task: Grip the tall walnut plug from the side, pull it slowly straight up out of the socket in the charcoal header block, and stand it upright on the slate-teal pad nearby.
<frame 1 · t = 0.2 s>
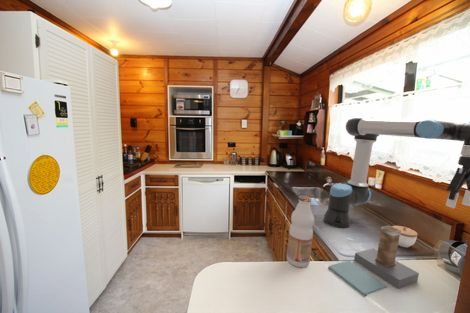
hand: (458, 206, 96), 27 cm above the countertop, tool pointing down, fingers open, 13 cm apart
header block: (383, 271, 92), on the countertop
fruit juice: (297, 261, 96), on the countertop
lidded jar: (401, 244, 117), on the countertop
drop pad: (355, 277, 87), on the countertop
walnut plug: (383, 270, 92), resting on header block
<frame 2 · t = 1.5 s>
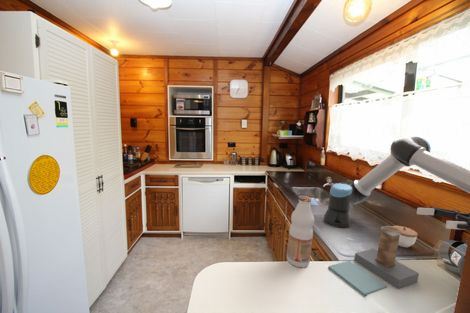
hand: (431, 217, 88), 25 cm above the countertop, tool horizontal, fingers open, 13 cm apart
nothing on the countertop moved.
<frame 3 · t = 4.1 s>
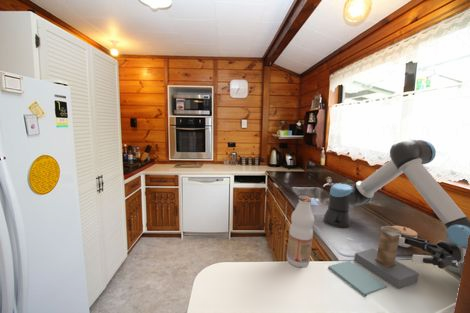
hand: (399, 248, 90), 11 cm above the countertop, tool horizontal, fingers open, 13 cm apart
nothing on the countertop moved.
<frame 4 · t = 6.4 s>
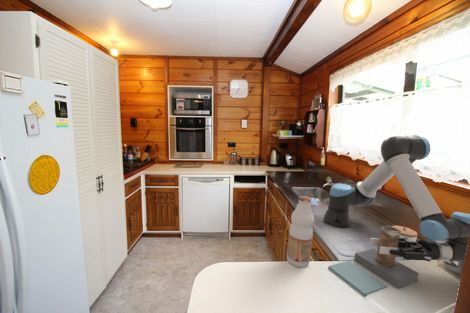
hand: (375, 245, 91), 11 cm above the countertop, tool horizontal, fingers closed on walnut plug, 6 cm apart
walnut plug: (383, 270, 92), point 1 cm above the countertop, touching gripper, header block
everything else where it was.
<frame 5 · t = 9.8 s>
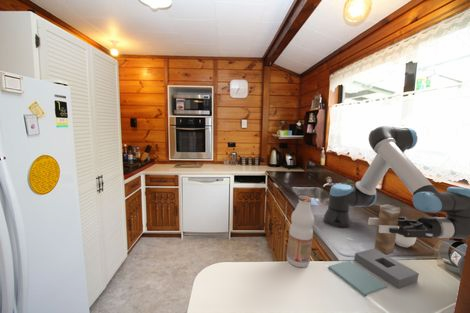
hand: (374, 224, 87), 21 cm above the countertop, tool horizontal, fingers closed on walnut plug, 6 cm apart
walnut plug: (383, 250, 88), point 10 cm above the countertop, touching gripper
everything else where it was.
when the fingers open (12 cm above the countertop, at t = 13.2 s): walnut plug stays where it is, resting on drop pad.
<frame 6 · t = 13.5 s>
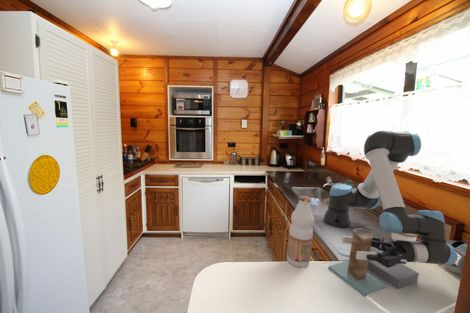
hand: (349, 246, 85), 13 cm above the countertop, tool horizontal, fingers open, 10 cm apart
walnut plug: (356, 275, 87), point 1 cm above the countertop, touching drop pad
everything else where it was.
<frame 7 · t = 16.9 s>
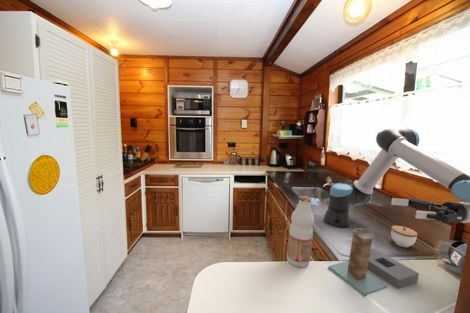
hand: (403, 207, 89), 28 cm above the countertop, tool horizontal, fingers open, 13 cm apart
nothing on the countertop moved.
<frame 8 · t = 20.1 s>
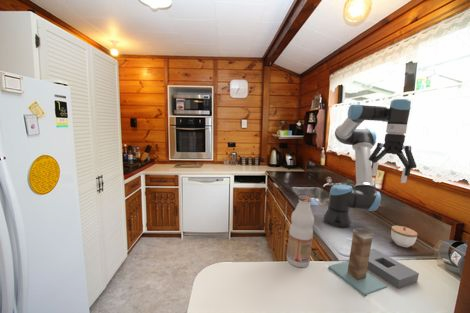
hand: (387, 179, 107), 35 cm above the countertop, tool pointing down, fingers open, 13 cm apart
nothing on the countertop moved.
at the end: walnut plug inside the target area (0.1 cm from its centre), point 1.0 cm above the countertop; walnut plug tilted 0°; the gripper is holding nothing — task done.
